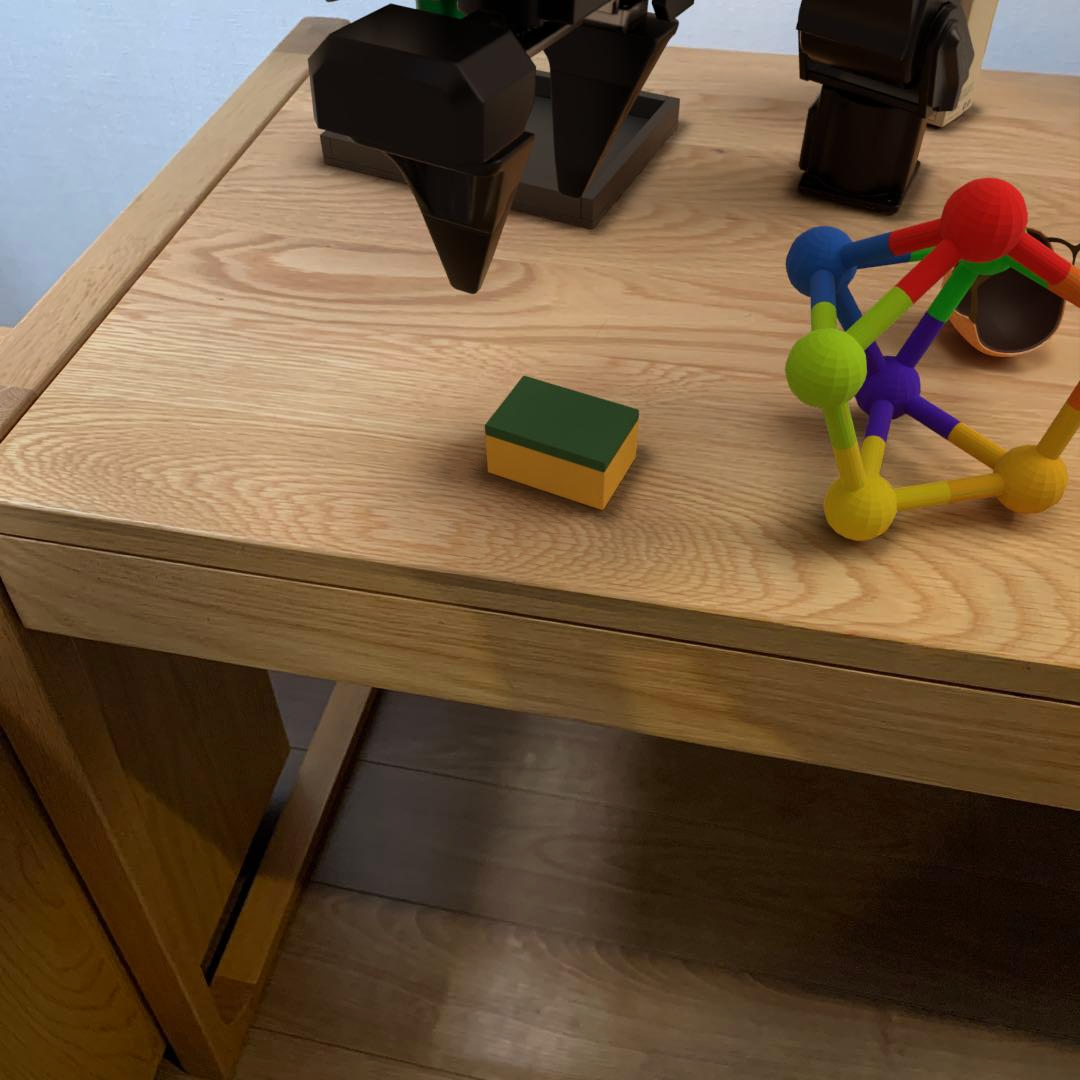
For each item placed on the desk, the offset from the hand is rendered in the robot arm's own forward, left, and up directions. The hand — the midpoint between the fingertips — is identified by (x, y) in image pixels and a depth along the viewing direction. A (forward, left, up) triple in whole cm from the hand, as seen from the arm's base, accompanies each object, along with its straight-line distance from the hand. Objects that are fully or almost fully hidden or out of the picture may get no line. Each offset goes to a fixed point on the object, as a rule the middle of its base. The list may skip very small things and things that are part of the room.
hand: (521, 239), depth 44 cm
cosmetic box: (-9, -43, -12) cm, 46 cm away
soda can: (+27, -40, -12) cm, 50 cm away
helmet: (-20, -15, -4) cm, 25 cm away
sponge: (-2, +1, -11) cm, 12 cm away
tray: (+15, -26, -11) cm, 32 cm away
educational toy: (-15, -6, -12) cm, 20 cm away
